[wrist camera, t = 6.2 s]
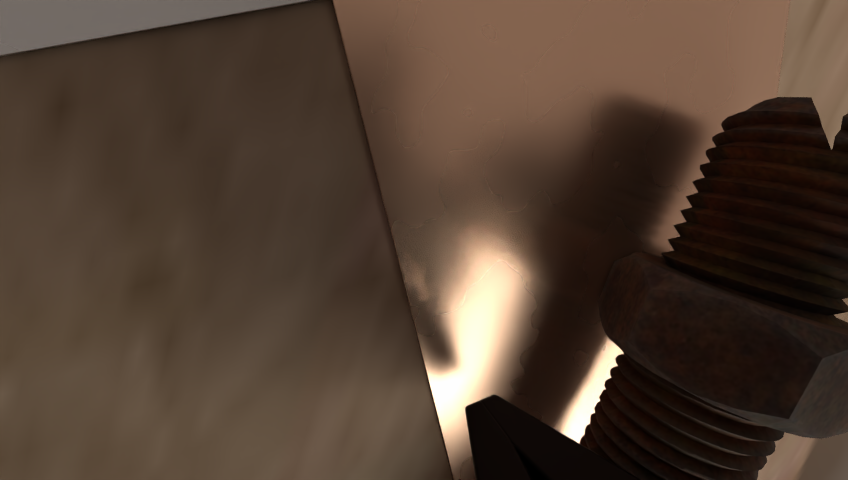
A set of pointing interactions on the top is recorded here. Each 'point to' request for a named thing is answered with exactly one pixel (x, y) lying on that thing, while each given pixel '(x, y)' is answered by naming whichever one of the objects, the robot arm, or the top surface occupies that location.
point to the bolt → (735, 309)
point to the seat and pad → (511, 161)
